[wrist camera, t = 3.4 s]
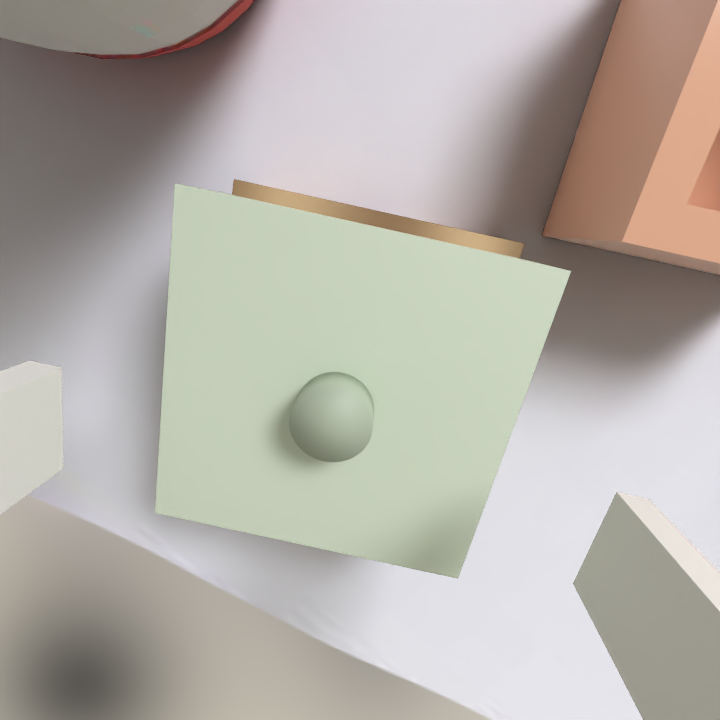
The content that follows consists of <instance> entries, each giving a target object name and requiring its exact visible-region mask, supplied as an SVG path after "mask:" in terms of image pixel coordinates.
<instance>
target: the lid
mask: <svg viewBox="0 0 720 720" xmlns="http://www.w3.org/2000/svg"><path fill="white" fill-rule="evenodd" d="M570 273H571V271H569V270H565V269H561V268H557V267H553V266H549V265H545V264H541V263H537V262H533V261H529V260H524V259H520V258H515V257H511V256H506V255H502V254H497V253H493V252H488V251H484V250H479V249H474V248H470V247H465V246H461V245H456V244H452V243H447V242H443V241H438V240H434V239H429V238H425V237H420V236H416V235H411V234H407V233H402V232H398V231H393V230H389V229H384V228H380V227H375V226H371V225H366V224H362V223H357V222H353V221H348V220H344V219H339V218H335V217H330V216H325V215H321V214H316V213H312V212H307V211H303V210H298V209H294V208H289V207H285V206H280V205H276V204H271V203H267V202H262V201H258V200H253V199H249V198H244V197H240V196H235V195H231V194H226V193H222V192H217V191H212V190H207V189H201V188H196V187H191V186H186V185H181V184H175V187H174V203H173V220H172V237H171V253H170V270H169V287H168V303H167V320H166V337H165V353H164V370H163V386H162V403H161V420H160V436H159V453H158V470H157V486H156V503H155V513H157V514H162V515H167V516H171V517H176V518H180V519H185V520H190V521H194V522H199V523H204V524H208V525H213V526H217V527H222V528H227V529H231V530H236V531H241V532H245V533H250V534H254V535H259V536H264V537H268V538H273V539H278V540H282V541H287V542H291V543H296V544H301V545H305V546H310V547H314V548H319V549H324V550H328V551H333V552H338V553H342V554H347V555H351V556H356V557H361V558H365V559H370V560H375V561H379V562H384V563H388V564H393V565H398V566H402V567H407V568H412V569H416V570H421V571H425V572H430V573H435V574H439V575H444V576H449V577H453V578H458V577H459V574H460V571H461V569H462V566H463V563H464V561H465V558H466V555H467V552H468V550H469V547H470V544H471V542H472V539H473V536H474V533H475V531H476V528H477V525H478V523H479V520H480V517H481V514H482V512H483V509H484V506H485V504H486V501H487V498H488V495H489V493H490V490H491V487H492V485H493V482H494V479H495V477H496V474H497V471H498V468H499V466H500V463H501V460H502V458H503V455H504V452H505V449H506V447H507V444H508V441H509V439H510V436H511V433H512V430H513V428H514V425H515V422H516V420H517V417H518V414H519V411H520V409H521V406H522V403H523V401H524V398H525V395H526V392H527V390H528V387H529V384H530V382H531V379H532V376H533V373H534V371H535V368H536V365H537V363H538V360H539V357H540V354H541V352H542V349H543V346H544V344H545V341H546V338H547V335H548V333H549V330H550V327H551V325H552V322H553V319H554V316H555V314H556V311H557V308H558V306H559V303H560V300H561V297H562V295H563V292H564V289H565V287H566V284H567V281H568V278H569V276H570Z"/></svg>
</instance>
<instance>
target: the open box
mask: <svg viewBox="0 0 720 720" xmlns="http://www.w3.org/2000/svg"><path fill="white" fill-rule="evenodd" d="M542 236H545V237H550V238H554V239H559V240H563V241H568V242H572V243H577V244H581V245H586V246H590V247H595V248H599V249H604V250H608V251H613V252H617V253H622V254H626V255H631V256H635V257H640V258H644V259H649V260H653V261H658V262H662V263H667V264H671V265H676V266H680V267H685V268H689V269H694V270H698V271H703V272H707V273H712V274H716V275H720V0H621V2H620V5H619V7H618V10H617V13H616V16H615V19H614V22H613V25H612V28H611V31H610V34H609V37H608V40H607V43H606V46H605V49H604V52H603V55H602V58H601V61H600V64H599V67H598V70H597V73H596V76H595V79H594V82H593V85H592V88H591V91H590V94H589V97H588V100H587V103H586V106H585V108H584V111H583V114H582V117H581V120H580V123H579V126H578V129H577V132H576V135H575V138H574V141H573V144H572V147H571V150H570V153H569V156H568V159H567V162H566V165H565V168H564V171H563V174H562V177H561V180H560V183H559V186H558V189H557V192H556V195H555V198H554V201H553V204H552V206H551V209H550V212H549V215H548V218H547V221H546V224H545V227H544V230H543V233H542Z"/></svg>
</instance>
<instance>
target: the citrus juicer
mask: <svg viewBox="0 0 720 720" xmlns="http://www.w3.org/2000/svg"><path fill="white" fill-rule="evenodd" d="M253 1H254V0H0V38H3V39H7V40H11V41H16V42H20V43H25V44H29V45H34V46H38V47H43V48H47V49H51V50H56V51H66V52H74V53H78V54H83V55H87V56H91V57H96V58H100V59H125V58H147V57H155V56H159V55H162V54H166V53H170V52H174V51H178V50H182V49H186V48H189V47H193V46H196V45H198V44H200V43H202V42H204V41H205V40H207V39H209V38H211V37H213V36H215V35H217V34H218V33H220V32H222V31H223V30H225V29H226V28H227V27H228V26H229V25H230V24H231V23H232V22H234V21H235V20H236V19H237V18H238V17H239V16H240V15H241V14H243V13H244V12H245V11H246V10H247V9H248V8H249V6H250V5H251V4H252V2H253Z"/></svg>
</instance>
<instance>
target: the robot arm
mask: <svg viewBox="0 0 720 720" xmlns="http://www.w3.org/2000/svg"><path fill="white" fill-rule="evenodd" d="M62 469H63V414H62V368H61V367H57V366H52V365H48V364H43V363H39V362H34V361H30V360H29V361H27V362H24V363H21V364H18V365H16V366H13V367H10V368H7V369H5V370H2V371H0V515H1V514H2V513H3V512H5V511H6V510H7V509H9V508H10V507H12V506H13V505H14V504H16V503H17V502H18V501H20V500H21V499H23V498H24V497H25V496H27V495H28V494H29V493H31V492H32V491H34V490H35V489H36V488H38V487H39V486H40V485H42V484H43V483H44V482H46V481H47V480H49V479H50V478H51V477H53V476H54V475H55V474H57V473H58V472H60V471H61V470H62ZM573 584H574V586H575V588H576V590H577V592H578V594H579V596H580V598H581V600H582V602H583V604H584V606H585V608H586V609H587V611H588V613H589V615H590V617H591V619H592V621H593V623H594V625H595V627H596V629H597V631H598V633H599V635H600V637H601V639H602V641H603V642H604V644H605V646H606V648H607V650H608V652H609V654H610V656H611V658H612V660H613V662H614V664H615V666H616V668H617V670H618V672H619V674H620V675H621V677H622V679H623V681H624V683H625V685H626V687H627V689H628V691H629V693H630V695H631V697H632V699H633V701H634V703H635V705H636V707H637V709H638V710H639V712H640V714H641V716H642V718H643V720H720V572H719V571H718V570H717V569H716V568H715V567H714V566H713V565H712V564H711V563H710V562H709V561H708V560H707V559H706V558H705V557H704V556H703V555H702V554H701V553H700V552H699V551H698V550H697V548H696V547H695V546H694V545H693V544H692V543H691V542H690V541H689V540H688V539H687V538H686V537H685V536H684V535H683V534H682V533H681V532H680V531H679V530H678V529H677V528H676V527H675V526H674V524H673V523H672V522H671V521H670V520H669V519H668V518H667V517H666V516H665V515H664V514H663V513H662V512H661V511H660V510H659V509H658V508H657V507H656V506H655V505H654V504H653V503H652V502H651V500H650V499H646V498H641V497H637V496H632V495H628V494H624V493H619V492H616V495H615V497H614V499H613V501H612V503H611V505H610V507H609V509H608V511H607V513H606V516H605V518H604V520H603V522H602V524H601V526H600V528H599V530H598V532H597V534H596V537H595V539H594V541H593V543H592V545H591V547H590V549H589V551H588V553H587V555H586V558H585V560H584V562H583V564H582V566H581V568H580V570H579V572H578V574H577V576H576V579H575V581H574V583H573Z"/></svg>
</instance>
